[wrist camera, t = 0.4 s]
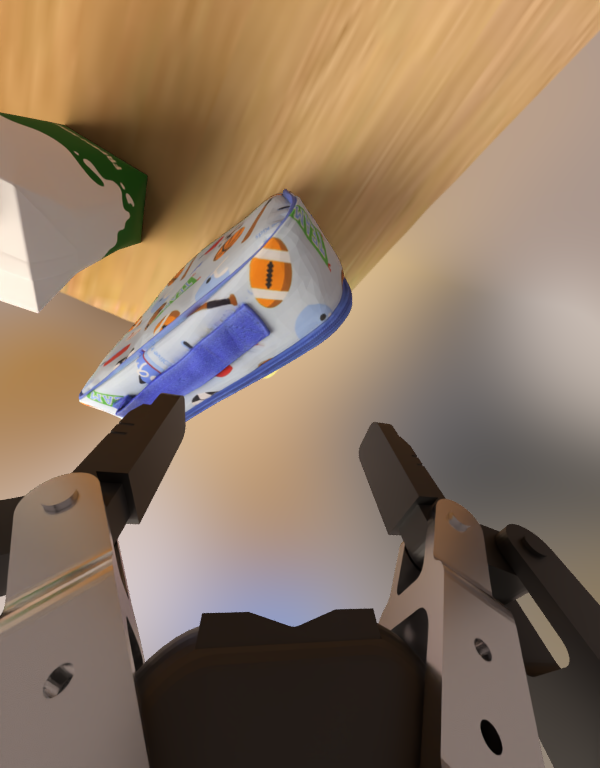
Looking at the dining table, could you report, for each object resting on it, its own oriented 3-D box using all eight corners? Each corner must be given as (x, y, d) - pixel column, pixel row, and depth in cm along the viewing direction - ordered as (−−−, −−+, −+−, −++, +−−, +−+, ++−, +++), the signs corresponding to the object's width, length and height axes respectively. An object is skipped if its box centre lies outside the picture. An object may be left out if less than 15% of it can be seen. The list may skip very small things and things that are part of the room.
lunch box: (198, 354, 40) (151, 476, 25) (139, 311, 34) (26, 438, 18) (330, 251, 31) (391, 343, 15) (282, 164, 24) (304, 166, 9)
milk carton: (158, 171, 24) (-9, 182, 10) (148, 254, 29) (29, 342, 15) (49, 103, 20) (-480, -43, 6) (59, 212, 25) (-212, 274, 11)
